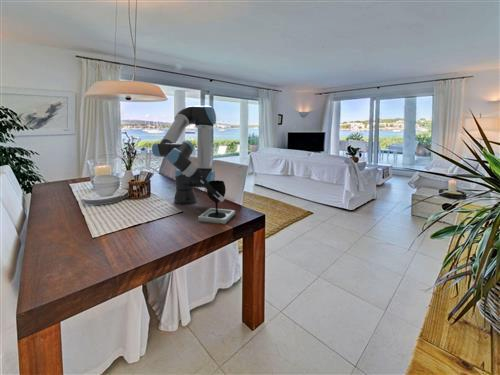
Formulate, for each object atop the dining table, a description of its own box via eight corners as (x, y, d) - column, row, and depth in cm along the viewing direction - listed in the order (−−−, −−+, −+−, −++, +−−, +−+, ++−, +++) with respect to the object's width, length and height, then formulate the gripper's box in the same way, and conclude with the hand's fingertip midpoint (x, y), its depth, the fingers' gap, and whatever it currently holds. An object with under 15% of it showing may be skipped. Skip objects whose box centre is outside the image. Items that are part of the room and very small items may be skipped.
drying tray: (210, 211, 153) (210, 207, 153) (234, 214, 149) (234, 210, 148) (198, 220, 138) (198, 216, 138) (225, 224, 134) (225, 219, 133)
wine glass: (227, 213, 148) (227, 180, 143) (223, 219, 138) (223, 184, 133) (210, 212, 149) (209, 179, 144) (205, 218, 139) (204, 183, 134)
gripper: (186, 173, 145) (212, 196, 153) (189, 182, 122) (220, 208, 130) (195, 163, 145) (220, 187, 153) (200, 171, 122) (230, 198, 130)
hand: (220, 197), depth 141 cm, fingers open, 13 cm apart
